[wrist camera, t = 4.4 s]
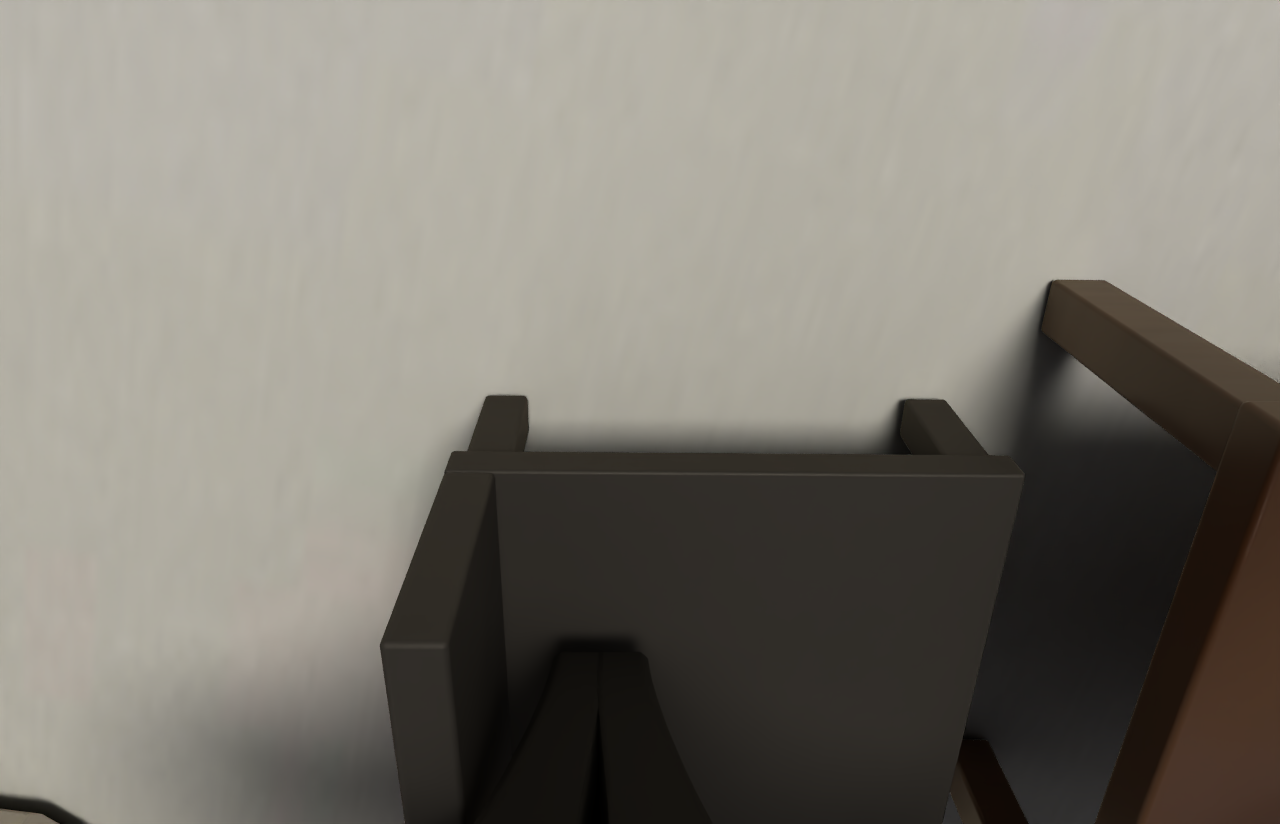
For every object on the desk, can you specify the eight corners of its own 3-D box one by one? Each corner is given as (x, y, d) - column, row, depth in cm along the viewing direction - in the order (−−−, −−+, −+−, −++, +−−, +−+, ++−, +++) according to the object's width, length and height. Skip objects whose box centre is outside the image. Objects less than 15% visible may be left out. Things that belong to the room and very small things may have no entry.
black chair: (497, 706, 17) (435, 1055, 12) (475, 385, 14) (377, 643, 9) (895, 706, 18) (1026, 1051, 12) (955, 389, 15) (1172, 646, 9)
